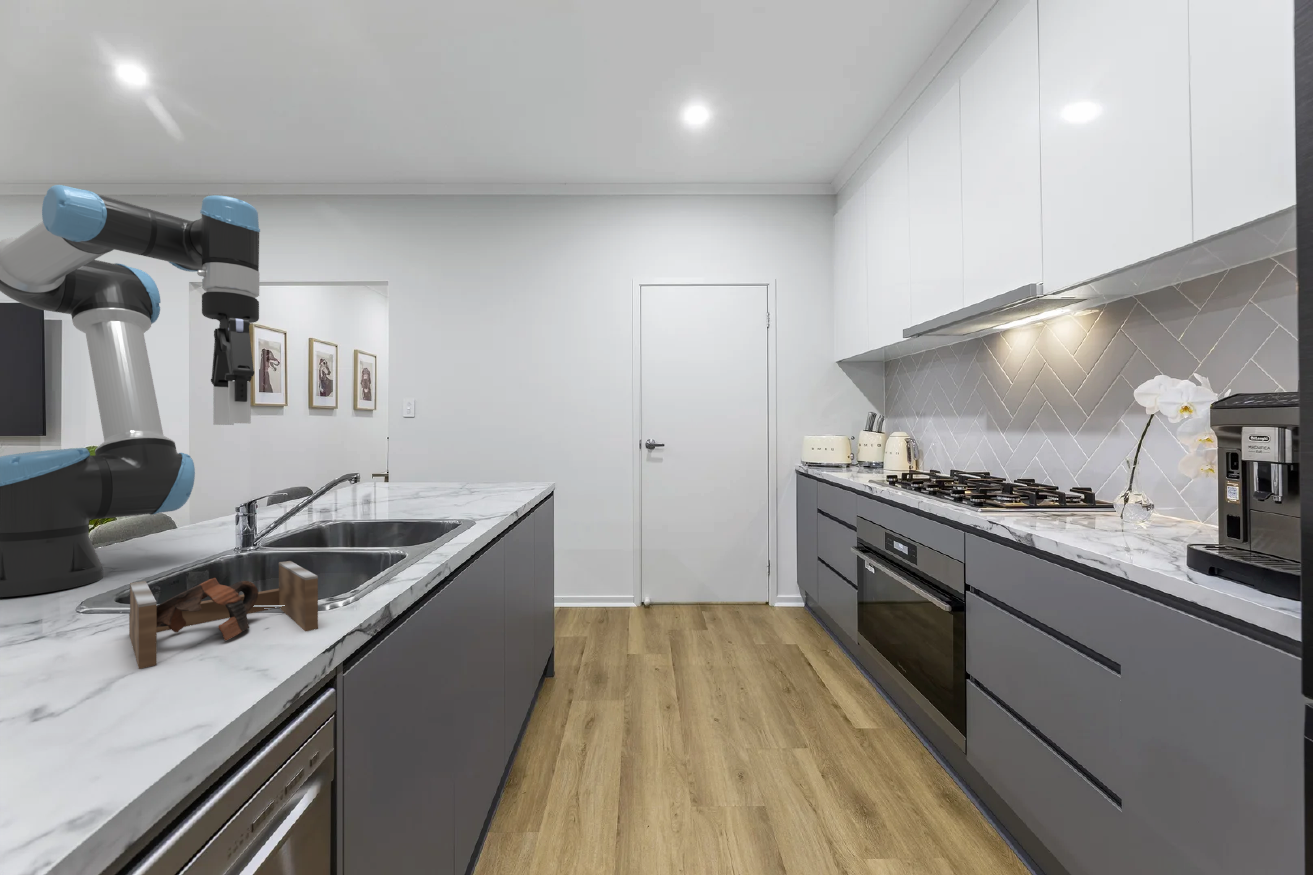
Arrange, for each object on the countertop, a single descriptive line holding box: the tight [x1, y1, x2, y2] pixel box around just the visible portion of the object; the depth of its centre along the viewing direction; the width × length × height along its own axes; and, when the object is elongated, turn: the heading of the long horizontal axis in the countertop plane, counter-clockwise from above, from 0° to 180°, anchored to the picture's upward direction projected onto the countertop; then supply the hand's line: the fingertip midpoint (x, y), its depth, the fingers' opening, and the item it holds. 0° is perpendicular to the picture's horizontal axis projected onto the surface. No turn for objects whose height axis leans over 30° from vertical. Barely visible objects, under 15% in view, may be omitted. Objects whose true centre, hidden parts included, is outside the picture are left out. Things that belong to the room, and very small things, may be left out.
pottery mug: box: [157, 577, 259, 641], centre depth 75 cm, size 12×9×8 cm
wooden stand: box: [128, 560, 319, 670], centre depth 75 cm, size 16×18×7 cm
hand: (231, 424), depth 92 cm, fingers open, 13 cm apart
